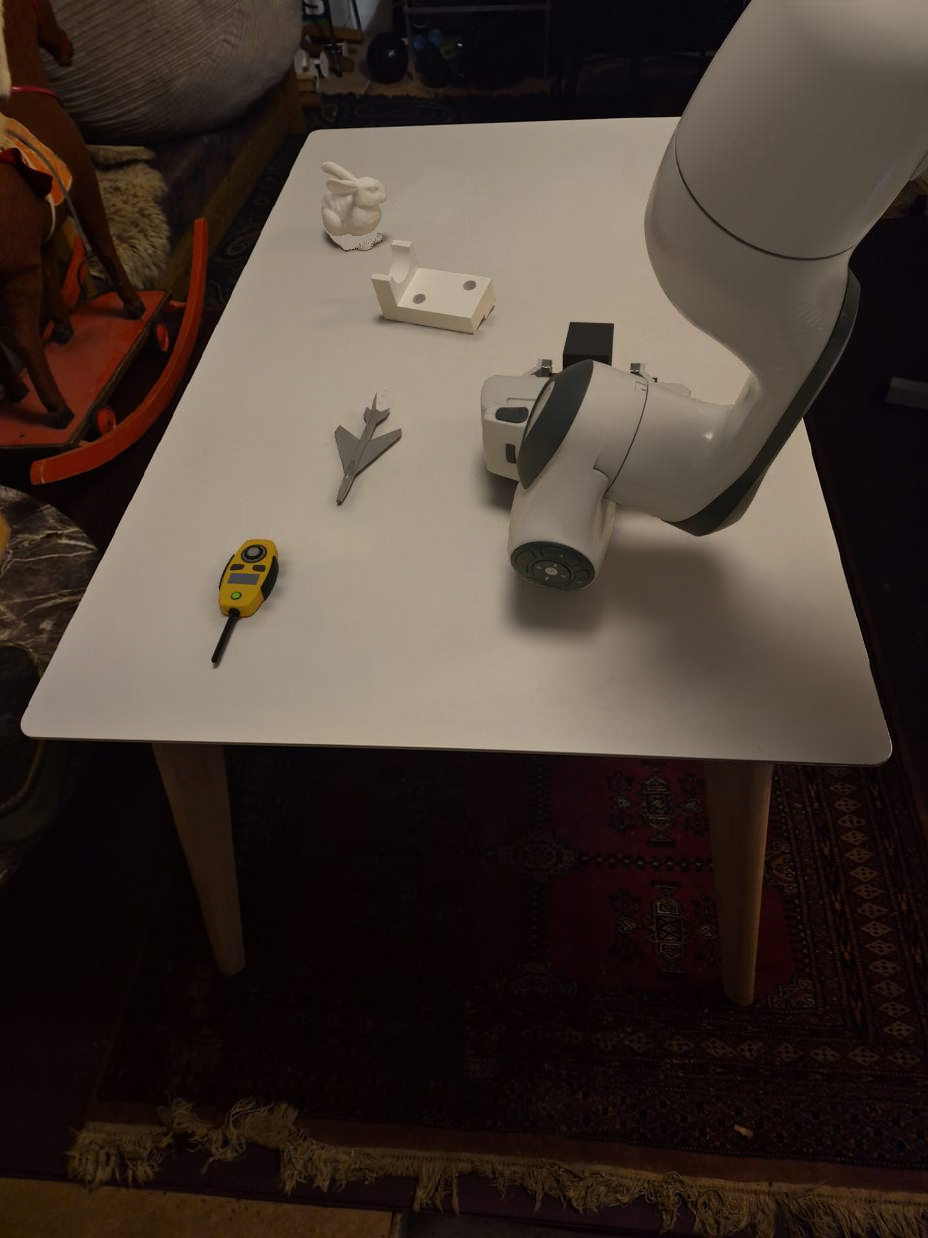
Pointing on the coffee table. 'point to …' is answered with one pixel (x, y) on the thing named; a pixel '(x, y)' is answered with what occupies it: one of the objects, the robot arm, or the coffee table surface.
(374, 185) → the rabbit
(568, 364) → the pad block
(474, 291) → the bracket
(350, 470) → the toy airplane
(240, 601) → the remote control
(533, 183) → the coffee table surface
